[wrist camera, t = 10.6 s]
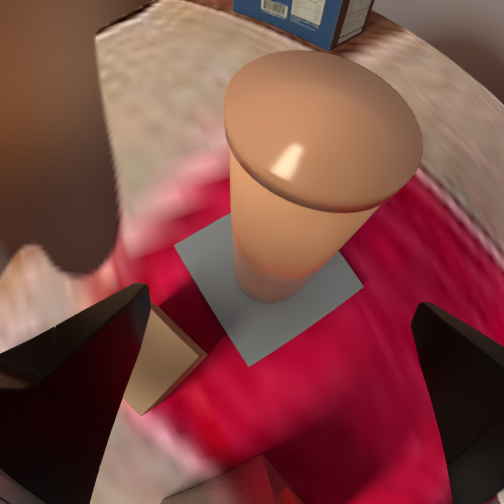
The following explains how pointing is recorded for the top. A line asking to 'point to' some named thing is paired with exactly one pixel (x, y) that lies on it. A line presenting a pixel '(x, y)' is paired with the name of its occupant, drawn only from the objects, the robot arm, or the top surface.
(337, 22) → the protein box
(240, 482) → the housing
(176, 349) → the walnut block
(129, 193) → the top surface
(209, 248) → the pad
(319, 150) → the canister
